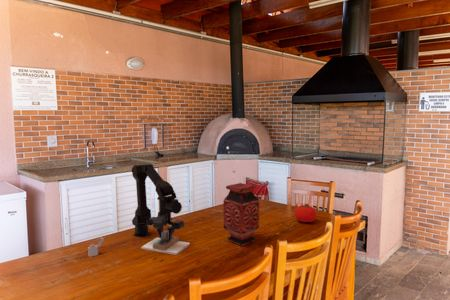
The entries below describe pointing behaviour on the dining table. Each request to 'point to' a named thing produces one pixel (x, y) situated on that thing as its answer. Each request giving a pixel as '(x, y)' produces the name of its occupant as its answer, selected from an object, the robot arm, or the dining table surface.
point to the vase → (241, 213)
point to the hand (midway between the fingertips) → (165, 239)
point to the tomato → (305, 213)
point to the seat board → (167, 246)
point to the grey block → (164, 237)
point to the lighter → (94, 248)
